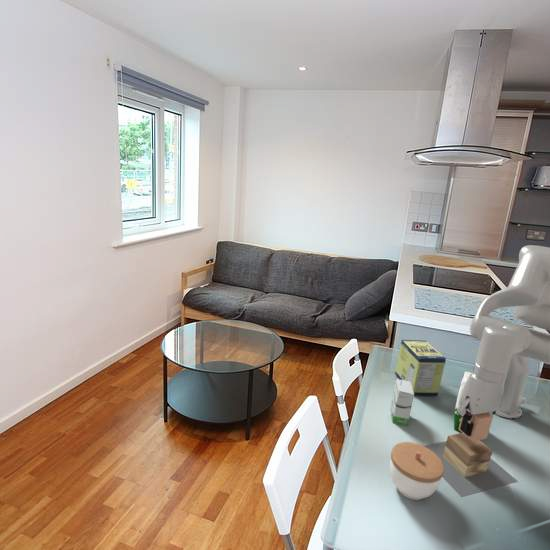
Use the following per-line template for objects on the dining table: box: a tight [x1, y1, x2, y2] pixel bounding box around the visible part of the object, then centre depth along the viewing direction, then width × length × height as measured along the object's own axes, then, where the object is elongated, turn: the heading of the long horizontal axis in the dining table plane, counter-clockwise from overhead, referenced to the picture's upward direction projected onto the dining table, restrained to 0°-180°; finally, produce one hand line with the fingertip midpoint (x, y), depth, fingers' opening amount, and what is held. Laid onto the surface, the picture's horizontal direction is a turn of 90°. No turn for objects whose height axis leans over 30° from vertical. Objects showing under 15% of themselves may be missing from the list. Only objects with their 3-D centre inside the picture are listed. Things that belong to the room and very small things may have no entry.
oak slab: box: [443, 446, 489, 477], centre depth 108 cm, size 8×8×4 cm
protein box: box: [394, 339, 447, 397], centre depth 147 cm, size 10×16×16 cm
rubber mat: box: [423, 440, 519, 498], centre depth 108 cm, size 20×18×1 cm
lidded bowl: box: [389, 441, 444, 501], centre depth 97 cm, size 13×13×11 cm
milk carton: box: [453, 371, 472, 433], centre depth 122 cm, size 9×9×20 cm
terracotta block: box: [459, 412, 494, 441], centre depth 105 cm, size 5×5×7 cm
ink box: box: [389, 378, 415, 426], centre depth 126 cm, size 9×5×12 cm, turn 168°
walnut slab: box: [445, 432, 493, 467], centre depth 107 cm, size 8×8×4 cm
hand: (473, 430), depth 105 cm, fingers closed on terracotta block, 5 cm apart
